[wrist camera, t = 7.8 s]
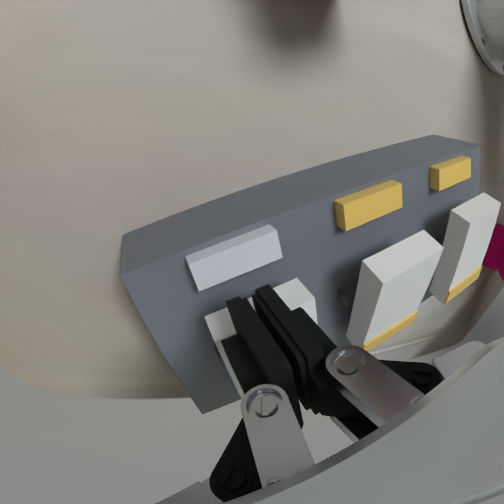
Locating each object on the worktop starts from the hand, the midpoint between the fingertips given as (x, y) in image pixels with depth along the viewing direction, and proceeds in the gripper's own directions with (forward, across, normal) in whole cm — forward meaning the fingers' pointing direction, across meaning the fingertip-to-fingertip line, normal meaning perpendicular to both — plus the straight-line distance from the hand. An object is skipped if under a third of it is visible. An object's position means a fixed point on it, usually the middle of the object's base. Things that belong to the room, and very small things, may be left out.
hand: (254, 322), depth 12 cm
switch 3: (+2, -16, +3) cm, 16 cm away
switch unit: (+8, -8, +3) cm, 12 cm away
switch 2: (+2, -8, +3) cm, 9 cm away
